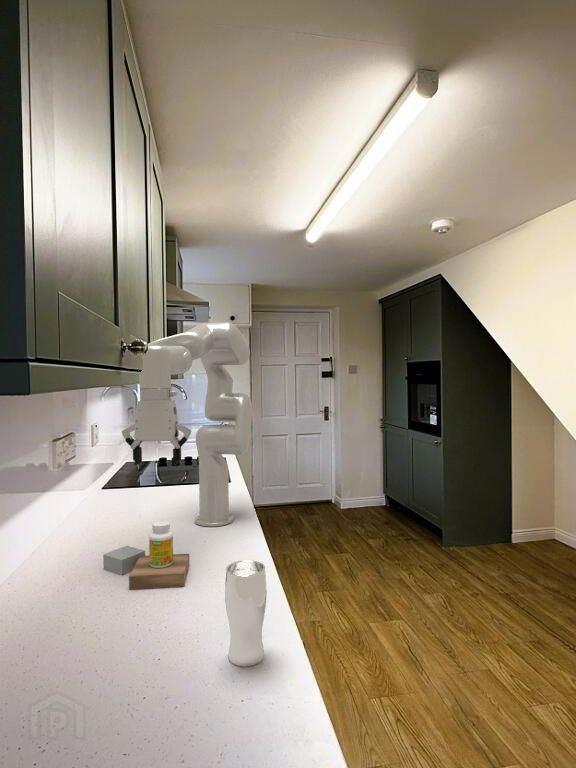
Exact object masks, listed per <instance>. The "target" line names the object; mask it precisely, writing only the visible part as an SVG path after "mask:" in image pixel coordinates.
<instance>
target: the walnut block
mask: <svg viewBox="0 0 576 768" xmlns="http://www.w3.org/2000/svg"><path fill="white" fill-rule="evenodd" d="M190 561H191V560H190V553H173V563H172V564H171V565H170V566H167V567H164V568H154V567H151V566H150V554H149V555H145V556H140V557H139V559H138V561H137V563H136V565H135V566H134V568H133V570H132V572H130V574H129V575H128V585H129V586H128V590H129V591H130V590H149V589H150V590H151V589H152V590H153V589H165V588H166V589H167V588H184V587H185V586H186V585H185V584H186V581H187V577H188V572H189V568H190Z"/></svg>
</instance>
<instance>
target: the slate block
mask: <svg viewBox="0 0 576 768" xmlns="http://www.w3.org/2000/svg"><path fill="white" fill-rule="evenodd" d="M102 555H103V556H102V557H103V559H102V560H103V561H102V562H103V566H102V567H103V570H104V571H107V572H109V573H113V574H114V575H115V574H116V575H118V576H121V577H123V576H125V575H127V574H129V573H130V574H131V572H132V570H133V568H134V566H135V565H136V563H137V561H138V559H139V557H140V556H146V550H144V549H140V548H138V547H137V548H136V547H134V546H130V545H125V546H122V547H119V548H116V549H113V550H112V551H111V550H110V551H109V552H106V553H103V554H102Z"/></svg>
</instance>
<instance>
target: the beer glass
mask: <svg viewBox="0 0 576 768" xmlns="http://www.w3.org/2000/svg"><path fill="white" fill-rule="evenodd" d="M225 572H226V573H225V584H224V585H225V586H224V599H225V600H224V601H225V610H226V614H227V619H228V620H227V621H228V626H229V632H230V642H229V649H228V655H227V656H228V660H229V662H230V663H231V664H232V665H234V666H237V667H241V668H242V667H243V668H245V667H253V666H256V665H258V664H259V663H261V662H262V661H263V659H264V658H265V649H264V642H263V627H264V619H265V613H266V607H267V606H266V605H267V578H266V577H267V576H266V565H265V564H264V563H262V562H261V561H257V560H252V559H250V560H249V559H248V560H238V561H234V562H232V563H230V564H228V565H227V566H226V569H225Z"/></svg>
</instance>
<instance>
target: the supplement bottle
mask: <svg viewBox="0 0 576 768" xmlns="http://www.w3.org/2000/svg"><path fill="white" fill-rule="evenodd" d="M151 526H152V527H151V529H152V532H150V534H149V538H148V539H149V540H148V542H149V544H148V545H149V548H148V549H149V551H148V552H149V555H150V566H151V567H154V568H164V567H167V566H170V565H171V564H172V563H173V554H174V535H173V534H174V533H173V531H172V530H170V529H171V524H170V521H167V520H158V521H154V522H153V523H152V524H151Z"/></svg>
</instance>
